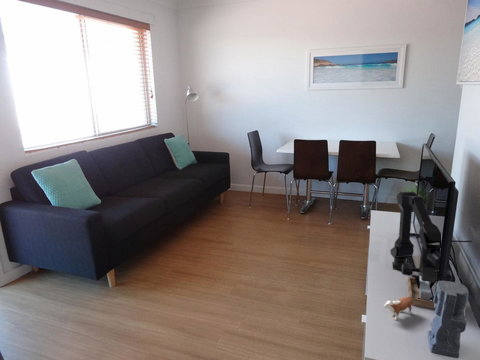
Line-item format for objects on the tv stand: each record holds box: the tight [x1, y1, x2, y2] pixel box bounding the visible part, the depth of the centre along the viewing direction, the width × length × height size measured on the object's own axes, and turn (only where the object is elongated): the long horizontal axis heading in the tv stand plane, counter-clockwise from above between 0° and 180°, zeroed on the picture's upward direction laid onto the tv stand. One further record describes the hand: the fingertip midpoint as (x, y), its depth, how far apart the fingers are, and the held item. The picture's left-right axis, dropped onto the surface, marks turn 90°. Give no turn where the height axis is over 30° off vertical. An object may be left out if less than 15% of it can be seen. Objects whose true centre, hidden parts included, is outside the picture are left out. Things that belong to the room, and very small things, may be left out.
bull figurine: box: [383, 295, 413, 321], centre depth 141 cm, size 4×13×8 cm, turn 111°
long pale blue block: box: [419, 275, 431, 301], centre depth 152 cm, size 13×4×4 cm, turn 159°
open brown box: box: [407, 276, 435, 310], centre depth 154 cm, size 17×11×3 cm, turn 159°
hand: (423, 289), depth 153 cm, fingers closed on long pale blue block, 4 cm apart
